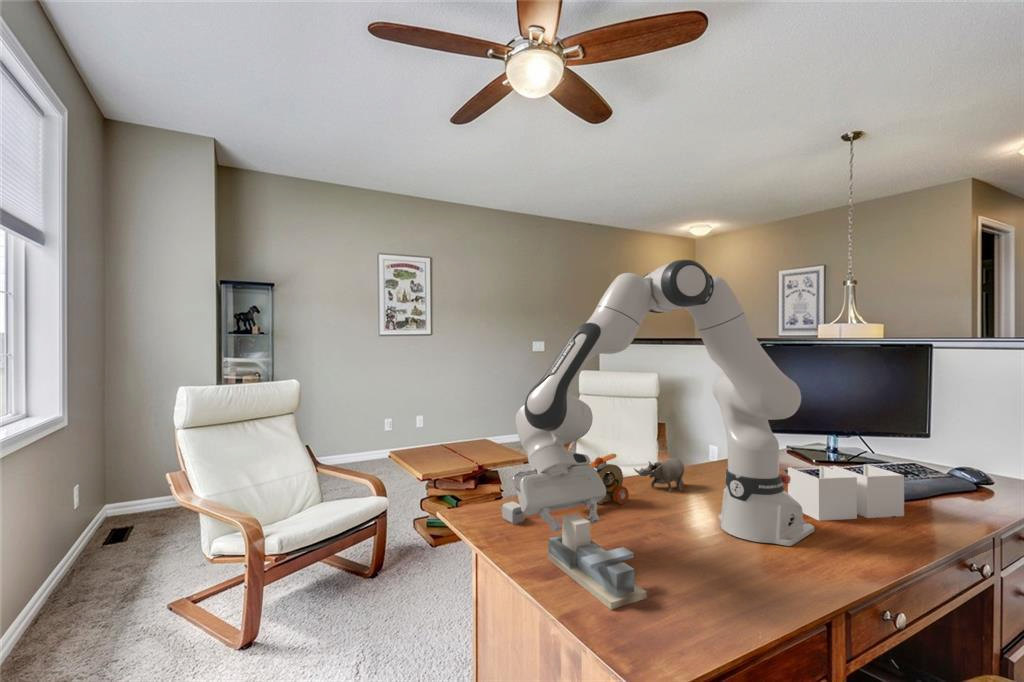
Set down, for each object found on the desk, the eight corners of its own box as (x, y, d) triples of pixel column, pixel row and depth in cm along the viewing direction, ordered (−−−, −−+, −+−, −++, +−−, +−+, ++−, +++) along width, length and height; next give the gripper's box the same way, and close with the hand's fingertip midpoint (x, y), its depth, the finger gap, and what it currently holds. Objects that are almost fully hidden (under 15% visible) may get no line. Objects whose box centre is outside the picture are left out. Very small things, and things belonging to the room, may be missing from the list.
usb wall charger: (512, 524, 116) (512, 508, 116) (496, 516, 122) (496, 501, 122) (524, 521, 118) (524, 505, 118) (508, 513, 124) (508, 498, 124)
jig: (582, 550, 102) (582, 522, 102) (651, 596, 83) (651, 563, 83) (543, 559, 97) (543, 530, 97) (606, 611, 79) (606, 575, 79)
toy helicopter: (631, 502, 133) (631, 454, 133) (575, 516, 121) (575, 464, 122) (611, 494, 139) (611, 448, 140) (556, 507, 128) (556, 457, 128)
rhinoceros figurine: (703, 481, 144) (676, 443, 143) (673, 511, 140) (645, 472, 139) (687, 476, 152) (662, 440, 150) (659, 505, 148) (632, 468, 147)
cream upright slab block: (576, 551, 99) (576, 513, 99) (590, 561, 94) (590, 521, 94) (562, 554, 97) (562, 516, 97) (575, 564, 93) (575, 524, 93)
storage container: (818, 521, 119) (818, 478, 119) (787, 506, 130) (787, 467, 130) (904, 516, 122) (904, 475, 122) (866, 502, 133) (866, 464, 133)
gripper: (515, 465, 97) (538, 528, 89) (594, 454, 107) (622, 511, 98) (505, 480, 101) (527, 542, 93) (582, 469, 111) (608, 524, 102)
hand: (576, 526), depth 95 cm, fingers open, 8 cm apart
